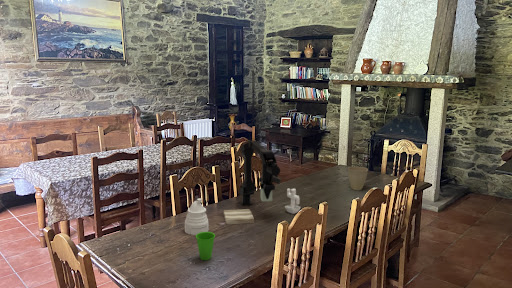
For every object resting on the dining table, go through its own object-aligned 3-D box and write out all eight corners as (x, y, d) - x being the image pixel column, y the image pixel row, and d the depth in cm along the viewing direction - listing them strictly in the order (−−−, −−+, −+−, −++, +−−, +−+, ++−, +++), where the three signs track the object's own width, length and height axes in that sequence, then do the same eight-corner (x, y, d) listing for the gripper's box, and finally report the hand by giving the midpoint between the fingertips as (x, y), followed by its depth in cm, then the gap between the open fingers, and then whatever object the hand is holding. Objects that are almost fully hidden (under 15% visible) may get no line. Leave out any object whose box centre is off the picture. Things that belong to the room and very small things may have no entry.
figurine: (294, 215, 237) (295, 192, 234) (283, 211, 244) (283, 188, 241) (302, 212, 242) (303, 189, 239) (290, 208, 248) (291, 186, 246)
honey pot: (212, 227, 216) (212, 196, 213) (201, 236, 204) (201, 203, 201) (191, 224, 220) (191, 193, 217) (180, 232, 208) (179, 200, 205)
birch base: (223, 214, 237) (223, 210, 236) (249, 213, 240) (249, 209, 239) (226, 224, 221) (226, 220, 221) (254, 222, 224) (254, 218, 224)
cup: (196, 253, 185) (196, 231, 183) (215, 253, 186) (215, 231, 184) (195, 262, 176) (194, 239, 174) (215, 262, 177) (215, 239, 175)
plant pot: (369, 188, 297) (370, 168, 294) (363, 193, 284) (364, 172, 282) (350, 185, 305) (351, 165, 302) (343, 189, 292) (344, 169, 289)
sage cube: (260, 198, 236) (260, 188, 235) (270, 197, 237) (270, 188, 236) (262, 201, 230) (262, 191, 229) (272, 201, 231) (272, 191, 230)
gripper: (283, 175, 223) (283, 201, 226) (276, 167, 241) (275, 192, 244) (264, 176, 221) (264, 202, 224) (258, 168, 239) (258, 192, 242)
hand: (266, 197), depth 233 cm, fingers closed on sage cube, 6 cm apart
